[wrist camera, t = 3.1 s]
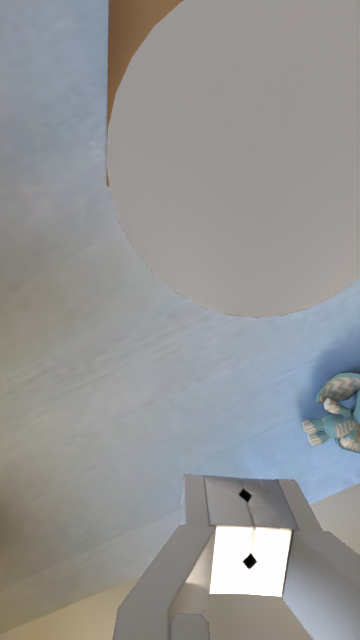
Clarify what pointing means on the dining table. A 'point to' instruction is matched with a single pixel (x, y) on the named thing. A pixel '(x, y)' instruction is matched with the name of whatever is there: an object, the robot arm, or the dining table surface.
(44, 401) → the dining table surface
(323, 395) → the stuffed animal
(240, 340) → the dining table surface
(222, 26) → the cylindrical container
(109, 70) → the brown flat board
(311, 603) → the robot arm
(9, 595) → the dining table surface
